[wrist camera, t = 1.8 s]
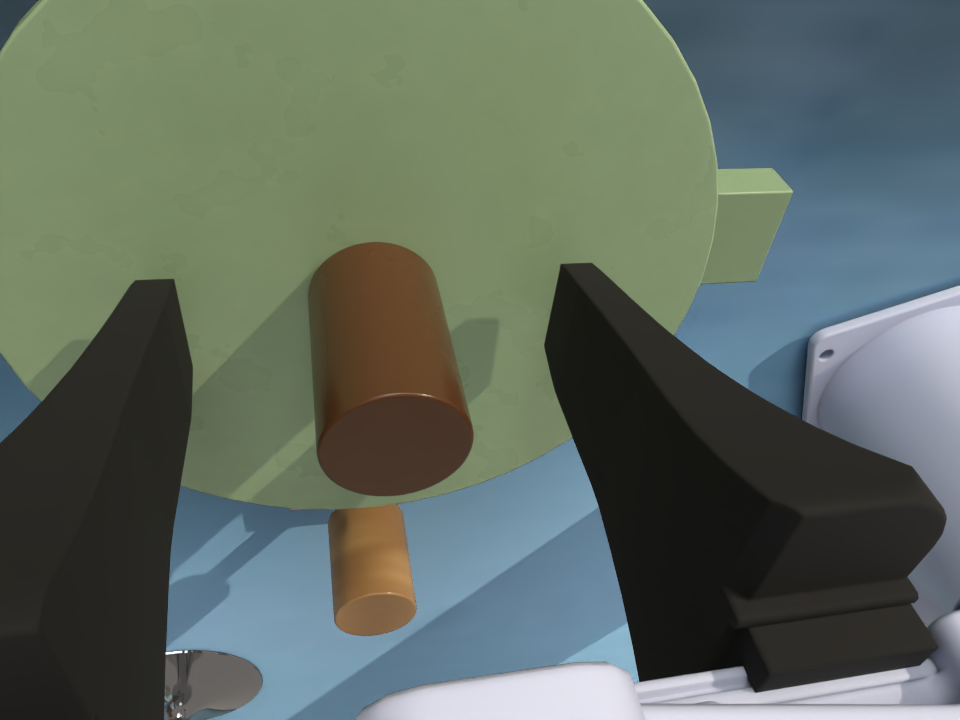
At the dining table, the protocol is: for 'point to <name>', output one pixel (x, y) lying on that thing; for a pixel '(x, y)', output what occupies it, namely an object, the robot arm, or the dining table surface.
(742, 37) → the dining table surface
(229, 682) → the wine glass
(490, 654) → the dining table surface
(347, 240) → the pot lid
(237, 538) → the dining table surface
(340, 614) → the masher
